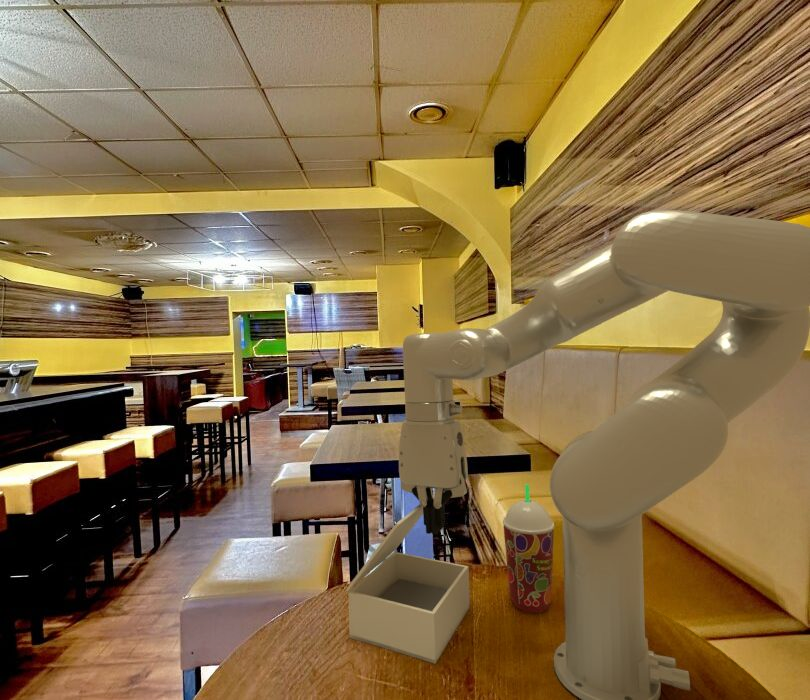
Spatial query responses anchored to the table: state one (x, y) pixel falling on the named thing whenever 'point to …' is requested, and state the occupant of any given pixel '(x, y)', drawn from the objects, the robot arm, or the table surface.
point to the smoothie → (529, 554)
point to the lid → (389, 543)
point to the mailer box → (410, 605)
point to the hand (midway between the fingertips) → (434, 530)
